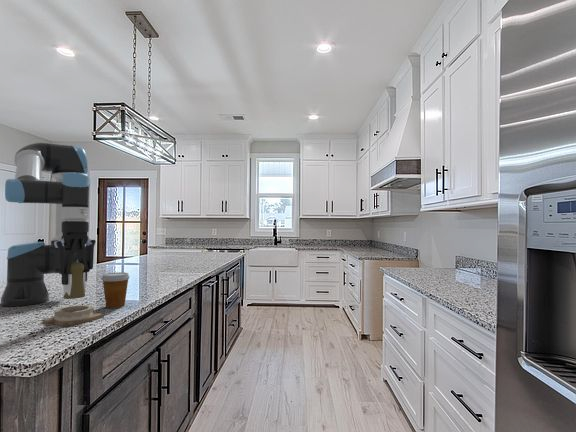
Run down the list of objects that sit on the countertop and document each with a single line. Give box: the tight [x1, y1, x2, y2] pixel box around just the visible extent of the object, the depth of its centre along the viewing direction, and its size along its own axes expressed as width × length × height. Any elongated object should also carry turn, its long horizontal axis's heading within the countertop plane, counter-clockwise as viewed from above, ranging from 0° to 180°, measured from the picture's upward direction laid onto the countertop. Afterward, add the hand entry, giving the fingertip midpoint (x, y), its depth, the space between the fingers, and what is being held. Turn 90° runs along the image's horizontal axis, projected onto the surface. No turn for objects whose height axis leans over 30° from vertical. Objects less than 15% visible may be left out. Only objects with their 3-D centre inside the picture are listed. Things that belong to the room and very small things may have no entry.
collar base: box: [41, 304, 105, 328], centre depth 112 cm, size 12×12×4 cm
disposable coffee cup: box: [101, 271, 130, 309], centre depth 131 cm, size 10×10×12 cm
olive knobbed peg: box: [62, 262, 86, 300], centre depth 112 cm, size 6×6×11 cm
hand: (74, 293), depth 112 cm, fingers closed on olive knobbed peg, 4 cm apart
